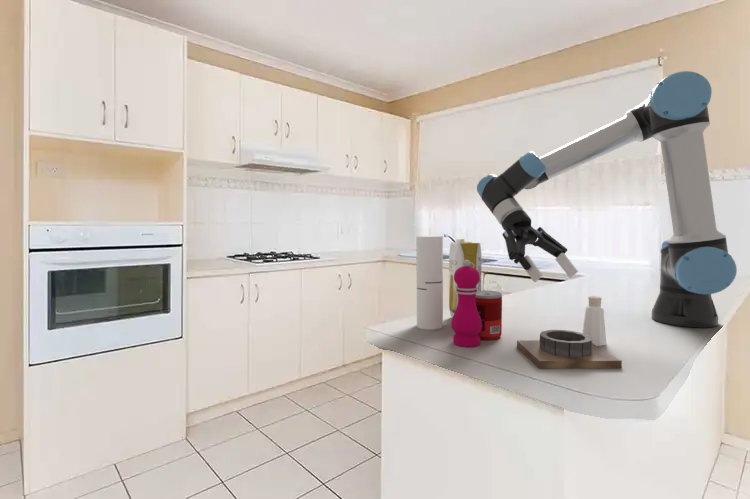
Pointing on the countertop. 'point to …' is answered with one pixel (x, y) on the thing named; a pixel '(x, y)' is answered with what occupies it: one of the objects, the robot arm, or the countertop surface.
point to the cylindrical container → (429, 282)
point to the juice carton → (456, 258)
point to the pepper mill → (466, 307)
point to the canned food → (490, 314)
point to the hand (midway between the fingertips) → (556, 276)
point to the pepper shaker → (595, 321)
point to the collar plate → (565, 361)
